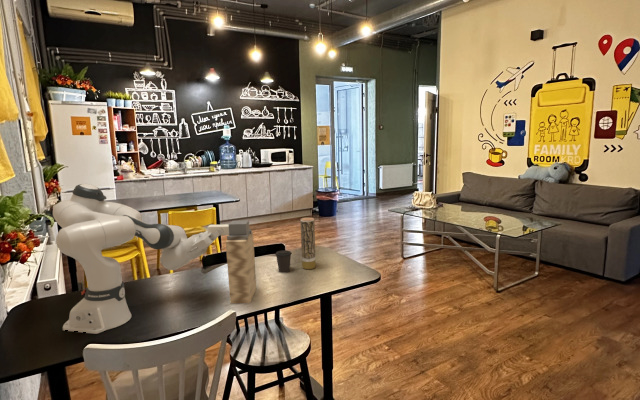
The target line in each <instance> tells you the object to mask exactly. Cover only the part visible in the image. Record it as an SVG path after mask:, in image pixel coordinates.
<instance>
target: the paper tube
mask: <svg viewBox="0 0 640 400" xmlns="http://www.w3.org/2000/svg"><path fill="white" fill-rule="evenodd" d="M315 226H316V225H315V218H314V217H302V218H300V240H301V242H300V243H301V244H300V245H301V248H300V249H301V268H302V269H304V270H313V269H315V268H316V267H317V266H316V263H317V262H316V238H315V237H316V235H315V234H316V233H315V231H316V230H315V228H316V227H315Z"/></svg>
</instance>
